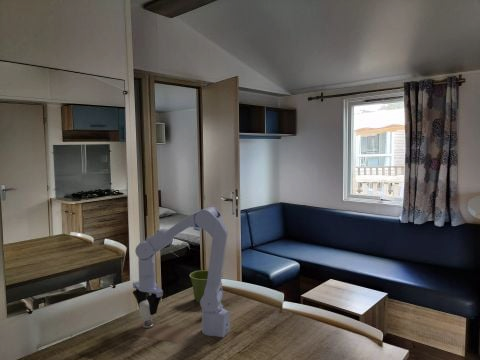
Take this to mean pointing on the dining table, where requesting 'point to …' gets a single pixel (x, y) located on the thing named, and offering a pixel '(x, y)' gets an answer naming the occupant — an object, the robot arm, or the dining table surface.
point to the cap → (144, 309)
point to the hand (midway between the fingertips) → (147, 311)
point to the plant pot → (199, 283)
